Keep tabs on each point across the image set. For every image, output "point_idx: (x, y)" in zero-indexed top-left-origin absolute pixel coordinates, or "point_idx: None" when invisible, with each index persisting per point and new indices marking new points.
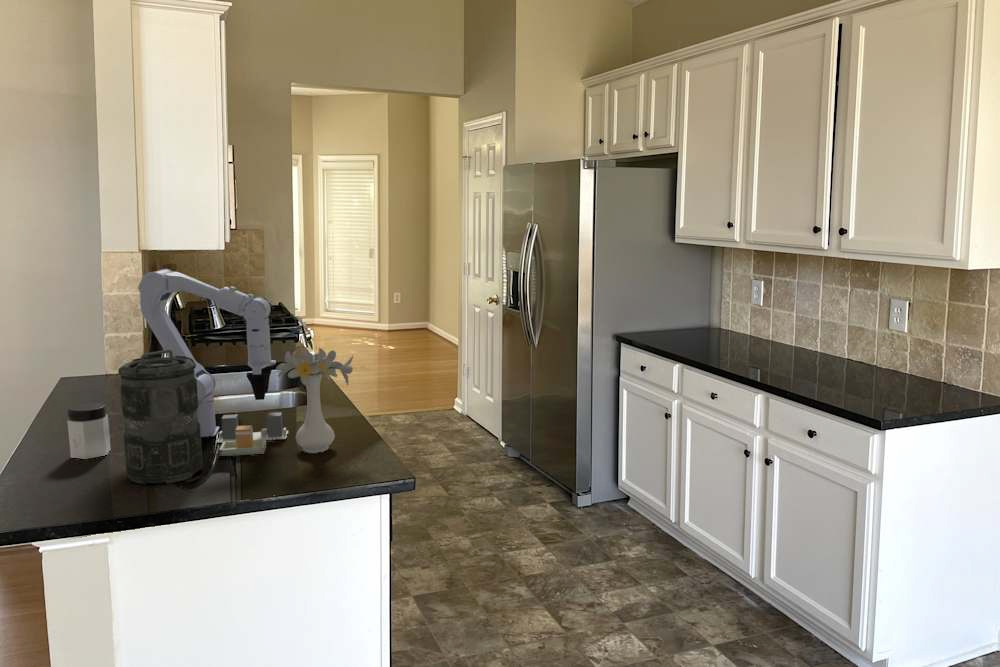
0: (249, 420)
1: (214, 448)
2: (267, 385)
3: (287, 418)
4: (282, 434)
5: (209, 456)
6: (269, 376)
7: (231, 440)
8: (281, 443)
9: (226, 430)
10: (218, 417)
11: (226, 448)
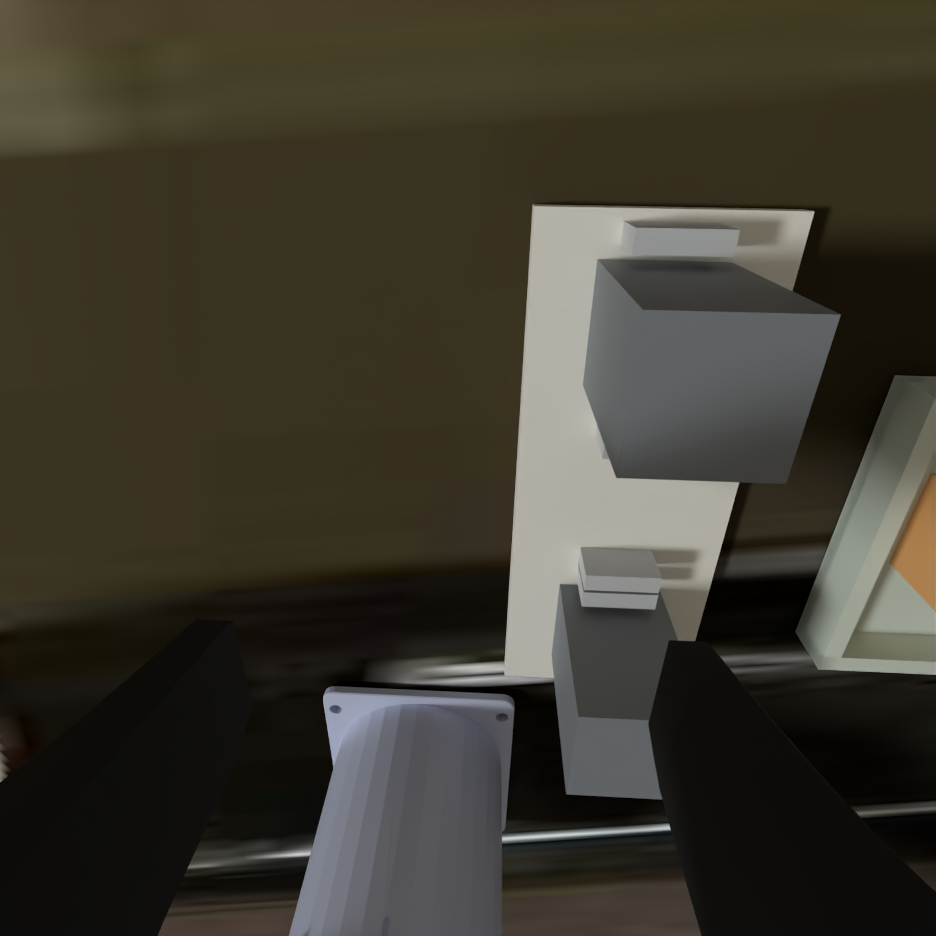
0: (116, 543)
1: (768, 674)
2: (165, 713)
3: (8, 251)
4: (660, 259)
5: (931, 683)
6: (3, 895)
7: (686, 615)
8: (878, 250)
9: None
10: (66, 703)
11: (864, 626)
